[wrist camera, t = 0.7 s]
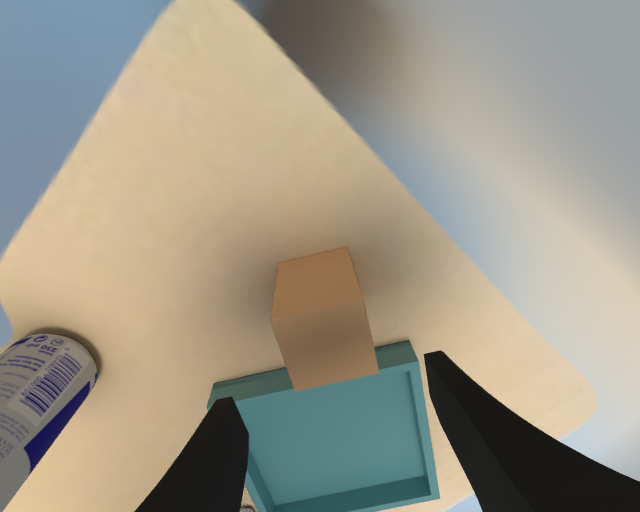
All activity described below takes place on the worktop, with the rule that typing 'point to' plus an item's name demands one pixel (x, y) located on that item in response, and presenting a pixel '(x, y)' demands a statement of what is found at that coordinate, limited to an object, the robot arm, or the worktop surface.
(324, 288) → the tan rectangular block
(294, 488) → the teal tray
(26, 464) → the beverage can
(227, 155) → the worktop surface
